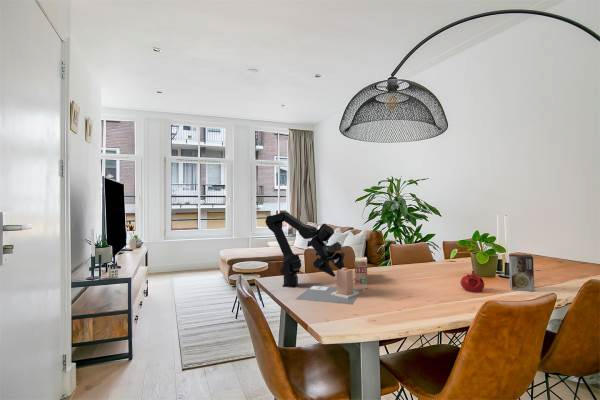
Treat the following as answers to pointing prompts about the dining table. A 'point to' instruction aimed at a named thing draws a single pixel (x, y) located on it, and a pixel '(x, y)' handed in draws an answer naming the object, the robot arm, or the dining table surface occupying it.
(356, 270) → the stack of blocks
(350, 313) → the dining table surface
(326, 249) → the robot arm
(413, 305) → the dining table surface
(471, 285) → the pomegranate
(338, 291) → the column block
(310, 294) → the board
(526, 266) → the coffee box
